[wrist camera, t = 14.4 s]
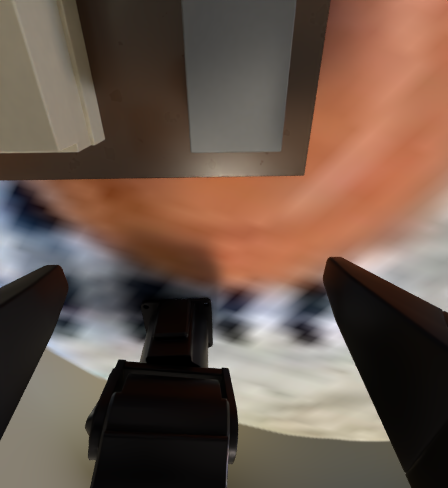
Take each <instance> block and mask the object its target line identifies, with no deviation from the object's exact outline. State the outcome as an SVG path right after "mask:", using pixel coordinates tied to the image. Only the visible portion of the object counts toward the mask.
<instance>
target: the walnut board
mask: <svg viewBox="0 0 448 488" xmlns="http://www.w3.org/2000/svg"><path fill="white" fill-rule="evenodd" d="M76 5H77V9H78V14H79V19H80V23H81V28H82V33H83V37H84V42H85V47H86V52H87V56H88V61H89V66H90V70H91V75H92V80H93V84H94V89H95V94H96V98H97V103H98V108H99V112H100V117H101V122H102V127H103V131H104V136H105V140H103V141H102V142H100V143H98V144H96V145H90V146H89V147H87V148H85V149H83V150H81V151H79V152H52V153H0V180H61V179H123V178H184V177H245V176H304V173H305V166H306V159H307V153H308V146H309V139H310V133H311V126H312V120H313V113H314V106H315V100H316V93H317V86H318V80H319V73H320V67H321V60H322V53H323V47H324V40H325V33H326V27H327V20H328V14H329V7H330V0H296V10H295V20H294V30H293V39H292V49H291V59H290V69H289V78H288V88H287V98H286V108H285V118H284V127H283V137H282V147H281V151H280V152H226V153H191V150H190V134H189V118H188V102H187V86H186V70H185V54H184V38H183V22H182V6H181V0H76Z"/></svg>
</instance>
